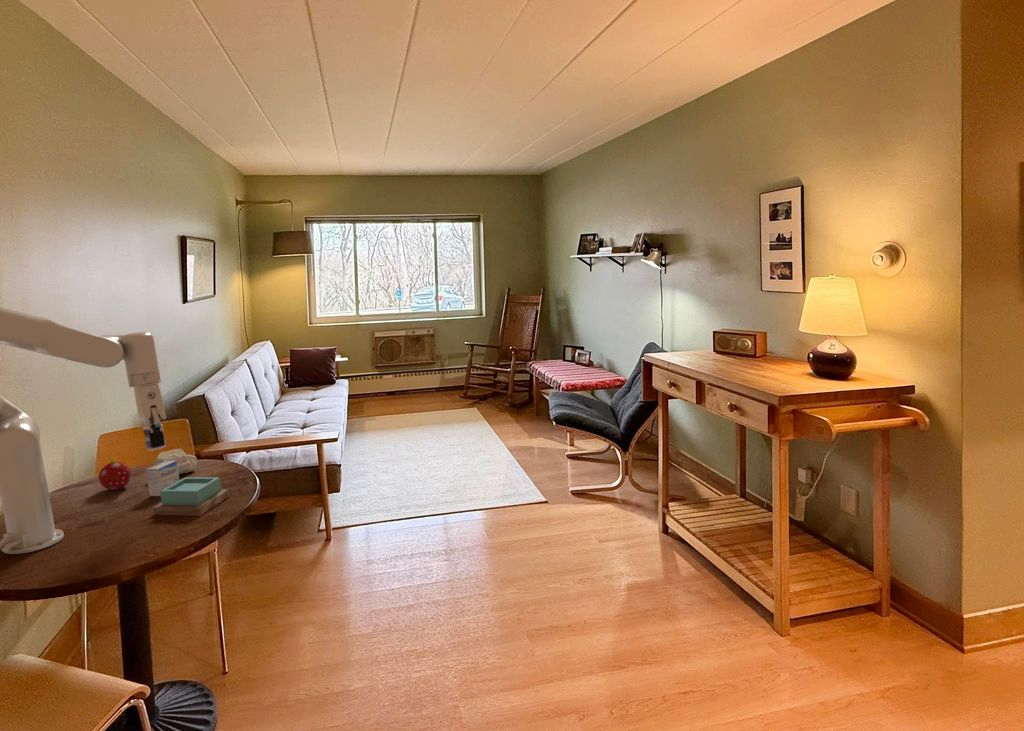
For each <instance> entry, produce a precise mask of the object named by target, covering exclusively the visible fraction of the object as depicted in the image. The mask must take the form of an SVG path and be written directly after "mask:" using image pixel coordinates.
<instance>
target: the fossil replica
mask: <svg viewBox="0 0 1024 731" xmlns="http://www.w3.org/2000/svg"><path fill="white" fill-rule="evenodd" d="M164 461H177V467H178V474H179V476H180V474H181V475H184V474H183V473H187V474H189V473H188V472H190V473H191V472H193V471H194V470H195V469H196V467H197V463H198V459H197V457H196V456H195V455H191V454H186V452H184V450H183V449H182V448H175V449H170V450H166V451H161V452H160V453H159V454H158V455H157V456H156V457H155V460H154V464H155V465H157V464H160V463H162V462H164ZM155 465H154V466H155Z"/></svg>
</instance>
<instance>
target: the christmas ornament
mask: <svg viewBox="0 0 1024 731" xmlns="http://www.w3.org/2000/svg"><path fill="white" fill-rule="evenodd" d="M131 478H132V470H131V469H130V467H129V466H128V465H127V464H126V463H124V462H120V461H117V460H116V459H115V457H111V458H110V462H109V463H106V464H105V465H104V466H102V467H101V469H100V470H99V473H98V480H99V483H100V485H101V486H102V487H103V488H105V489H106V490H110V491H117V490H121V489H123V488H124V487H126V486H127V485H128V484H129V483H130V481H131Z"/></svg>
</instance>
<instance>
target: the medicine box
mask: <svg viewBox="0 0 1024 731" xmlns="http://www.w3.org/2000/svg"><path fill="white" fill-rule="evenodd" d="M145 472H146V477H147V485H148V490H149V491H148V492H149V496H150V497H161V494H160V491H161V490H163V489H165V488H167V487H168V486H170V485H172V484H174V483H176V482H177V481H179V480H180V475H179V474H178V467H177V461H164V462H162V463H160V464H157V465H153V466H151V467H148V468H146V469H145Z"/></svg>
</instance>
